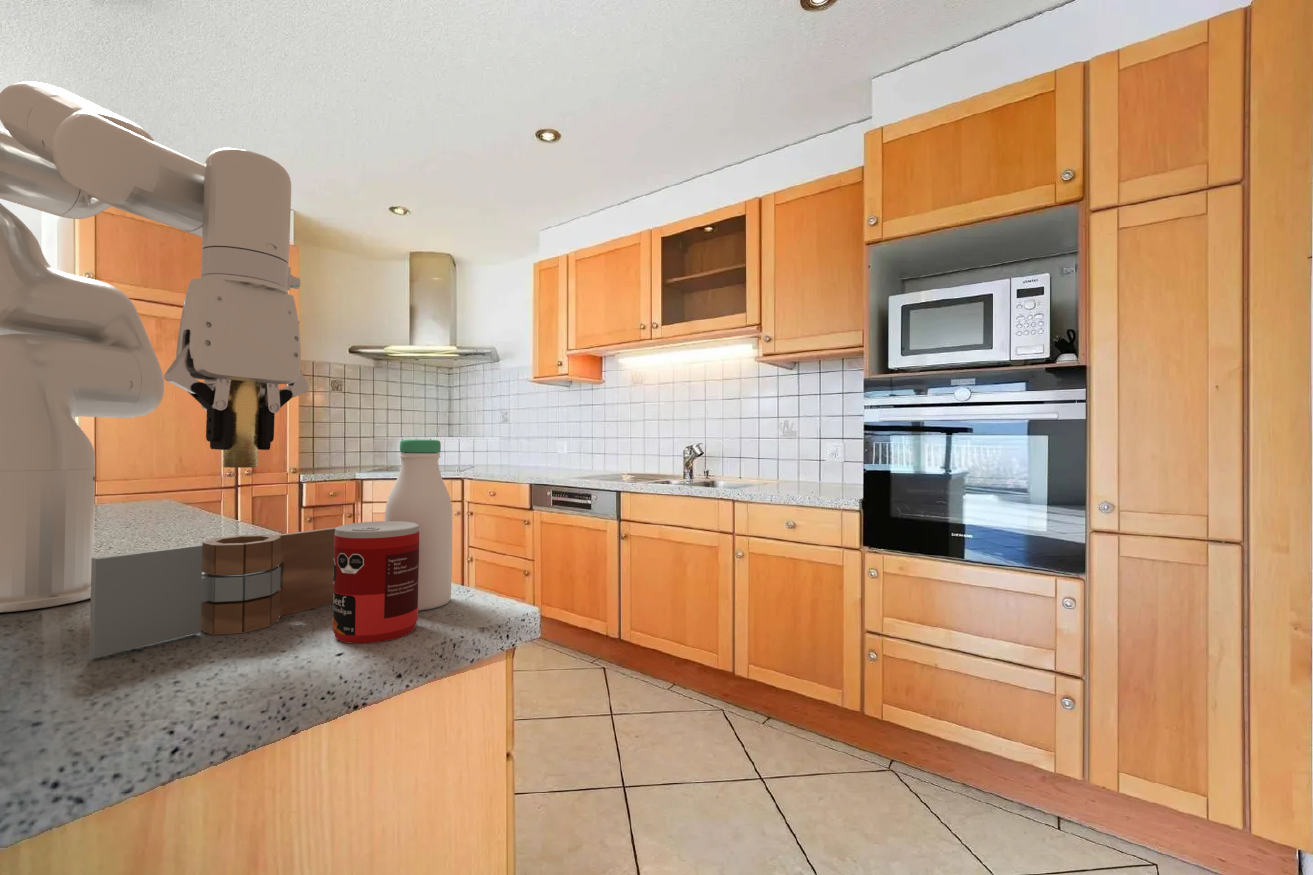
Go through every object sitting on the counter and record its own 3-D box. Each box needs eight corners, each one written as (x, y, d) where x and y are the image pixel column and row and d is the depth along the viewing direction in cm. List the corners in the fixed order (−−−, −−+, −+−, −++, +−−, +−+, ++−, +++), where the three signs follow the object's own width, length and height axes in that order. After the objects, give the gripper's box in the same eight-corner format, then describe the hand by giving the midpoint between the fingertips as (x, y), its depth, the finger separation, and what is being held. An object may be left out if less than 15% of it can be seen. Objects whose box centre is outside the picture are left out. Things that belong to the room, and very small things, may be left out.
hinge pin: (216, 466, 60) (220, 366, 61) (248, 465, 63) (251, 369, 63) (230, 467, 59) (234, 365, 59) (263, 467, 62) (266, 368, 62)
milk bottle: (462, 604, 70) (465, 440, 70) (396, 617, 65) (400, 439, 65) (435, 592, 76) (438, 439, 76) (372, 602, 70) (376, 438, 70)
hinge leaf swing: (77, 649, 53) (80, 554, 53) (258, 609, 66) (259, 532, 66) (106, 664, 50) (108, 562, 50) (289, 618, 63) (291, 538, 63)
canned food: (335, 625, 62) (337, 522, 62) (415, 617, 65) (417, 519, 65) (328, 649, 55) (330, 533, 55) (419, 638, 58) (421, 529, 58)
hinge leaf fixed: (191, 627, 60) (193, 540, 60) (338, 593, 74) (339, 523, 74) (222, 638, 57) (224, 547, 57) (369, 601, 71) (370, 527, 71)
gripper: (305, 296, 70) (300, 448, 70) (132, 258, 56) (126, 448, 56) (342, 290, 66) (337, 450, 66) (166, 247, 52) (159, 450, 52)
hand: (240, 447), depth 61 cm, fingers closed on hinge pin, 3 cm apart
